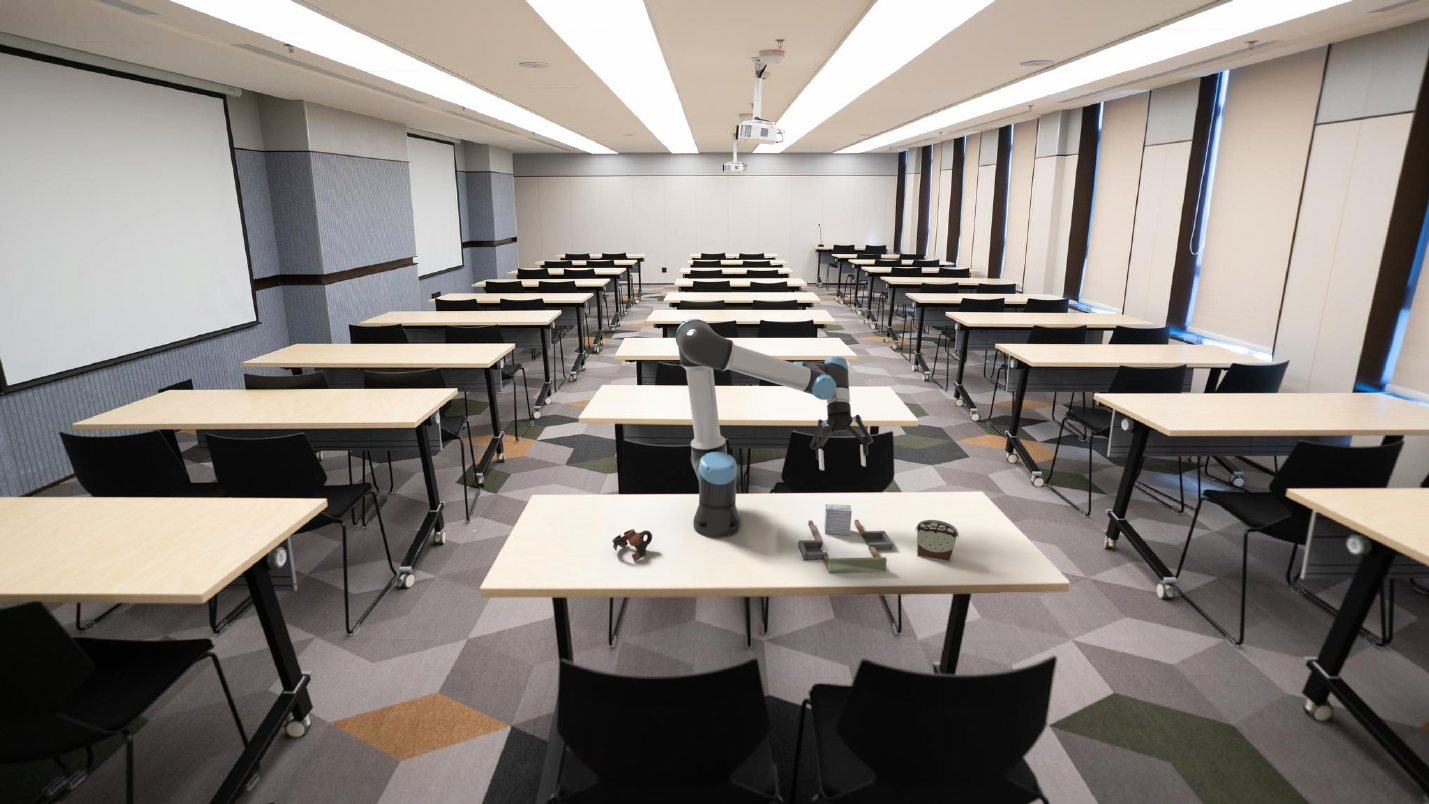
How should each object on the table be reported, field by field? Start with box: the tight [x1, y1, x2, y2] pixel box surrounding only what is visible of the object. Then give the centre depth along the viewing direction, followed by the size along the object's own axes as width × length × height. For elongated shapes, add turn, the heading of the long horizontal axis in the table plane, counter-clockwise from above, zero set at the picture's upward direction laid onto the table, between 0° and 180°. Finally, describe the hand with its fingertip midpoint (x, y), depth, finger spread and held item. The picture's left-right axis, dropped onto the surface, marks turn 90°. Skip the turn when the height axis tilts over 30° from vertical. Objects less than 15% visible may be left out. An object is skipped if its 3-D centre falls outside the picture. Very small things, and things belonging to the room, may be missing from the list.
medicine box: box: [823, 503, 853, 536], centre depth 215 cm, size 8×4×9 cm, turn 84°
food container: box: [914, 519, 960, 563], centre depth 202 cm, size 12×6×10 cm, turn 71°
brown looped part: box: [612, 528, 653, 562], centre depth 202 cm, size 12×10×8 cm
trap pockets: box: [797, 530, 894, 561], centre depth 206 cm, size 13×28×2 cm, turn 94°
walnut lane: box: [808, 519, 888, 574], centre depth 207 cm, size 29×16×4 cm, turn 4°
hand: (842, 467), depth 215 cm, fingers open, 13 cm apart
